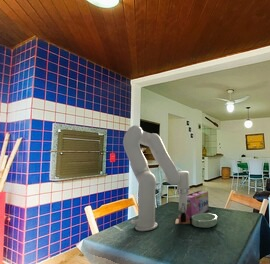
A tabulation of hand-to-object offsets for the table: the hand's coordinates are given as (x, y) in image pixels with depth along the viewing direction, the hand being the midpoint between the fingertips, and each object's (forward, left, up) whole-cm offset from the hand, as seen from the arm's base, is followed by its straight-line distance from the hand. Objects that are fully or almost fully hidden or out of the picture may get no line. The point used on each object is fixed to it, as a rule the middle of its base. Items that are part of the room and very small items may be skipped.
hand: (183, 220), depth 125 cm
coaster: (0, 0, -1) cm, 1 cm away
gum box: (+9, +15, -1) cm, 17 cm away
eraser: (0, 0, 0) cm, 0 cm away
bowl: (+13, -5, -1) cm, 14 cm away
